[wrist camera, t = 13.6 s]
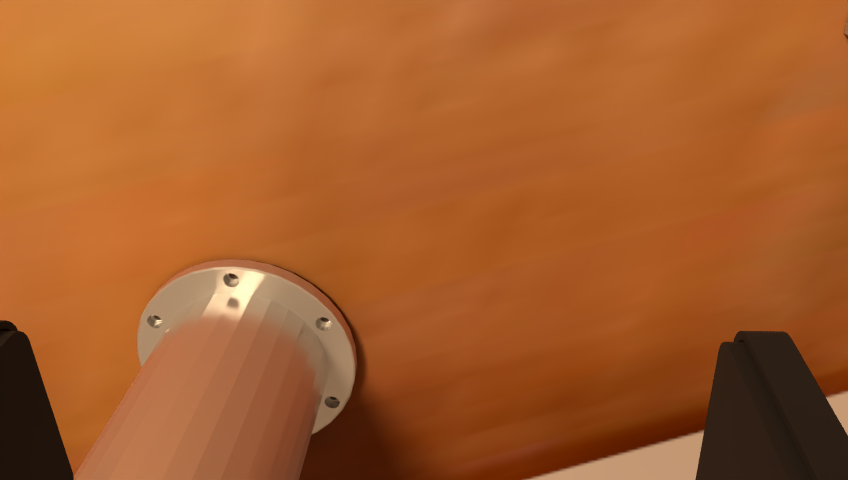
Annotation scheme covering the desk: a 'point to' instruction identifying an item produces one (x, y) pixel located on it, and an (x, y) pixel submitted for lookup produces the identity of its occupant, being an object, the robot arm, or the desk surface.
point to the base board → (846, 27)
